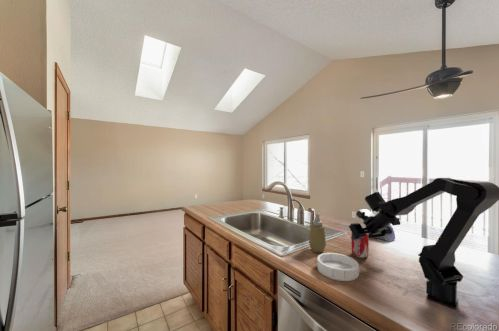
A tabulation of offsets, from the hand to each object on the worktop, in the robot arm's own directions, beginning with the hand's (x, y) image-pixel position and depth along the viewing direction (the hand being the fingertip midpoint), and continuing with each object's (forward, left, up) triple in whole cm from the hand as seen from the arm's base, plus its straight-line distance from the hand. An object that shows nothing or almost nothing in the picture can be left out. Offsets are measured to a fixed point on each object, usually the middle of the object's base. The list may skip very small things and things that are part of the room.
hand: (359, 238), depth 97 cm
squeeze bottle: (+16, +10, -8) cm, 21 cm away
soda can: (0, 0, -8) cm, 8 cm away
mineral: (+3, -35, -8) cm, 36 cm away
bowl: (0, +22, -8) cm, 23 cm away
